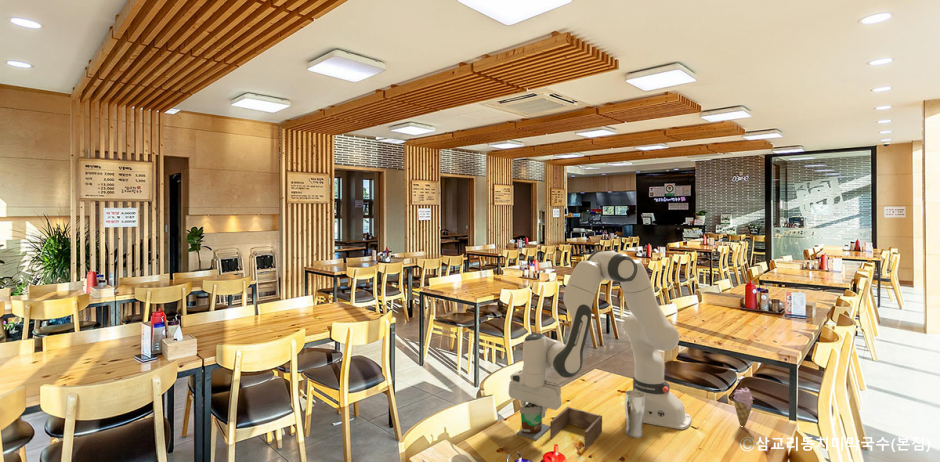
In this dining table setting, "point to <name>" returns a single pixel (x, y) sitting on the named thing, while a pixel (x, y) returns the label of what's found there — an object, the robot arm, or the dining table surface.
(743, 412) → the ice cream cone
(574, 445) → the dining table surface
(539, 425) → the food container
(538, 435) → the rubber mat
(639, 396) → the beer glass
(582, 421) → the open box
